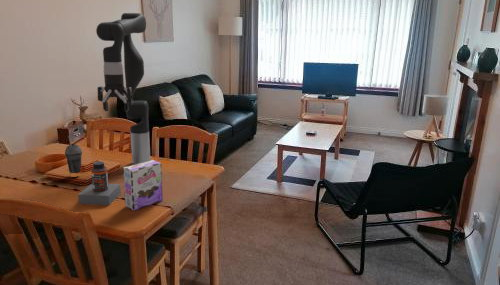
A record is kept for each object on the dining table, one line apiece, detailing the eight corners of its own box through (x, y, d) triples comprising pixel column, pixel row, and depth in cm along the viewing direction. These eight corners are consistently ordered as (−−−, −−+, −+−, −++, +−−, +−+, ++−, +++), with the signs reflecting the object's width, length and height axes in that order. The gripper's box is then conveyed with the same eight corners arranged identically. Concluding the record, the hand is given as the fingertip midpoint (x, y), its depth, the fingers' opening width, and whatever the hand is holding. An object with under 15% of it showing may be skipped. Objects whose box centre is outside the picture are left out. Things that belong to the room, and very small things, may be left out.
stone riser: (93, 191, 154) (92, 183, 153) (120, 193, 154) (120, 184, 153) (79, 203, 143) (78, 194, 142) (109, 205, 143) (108, 195, 141)
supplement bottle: (93, 193, 144) (90, 165, 141) (92, 187, 149) (89, 161, 146) (109, 190, 146) (107, 164, 143) (107, 185, 151) (105, 159, 148)
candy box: (133, 211, 138) (130, 170, 134) (124, 206, 142) (122, 167, 137) (163, 200, 148) (161, 162, 144) (154, 196, 152) (153, 159, 147)
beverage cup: (87, 176, 171) (83, 135, 166) (71, 180, 166) (66, 138, 161) (80, 172, 176) (76, 132, 171) (64, 176, 171) (60, 135, 166)
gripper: (133, 72, 155) (135, 110, 159) (100, 71, 156) (103, 109, 160) (127, 74, 148) (129, 113, 152) (92, 73, 148) (96, 112, 153)
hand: (116, 111), depth 156 cm, fingers open, 8 cm apart
